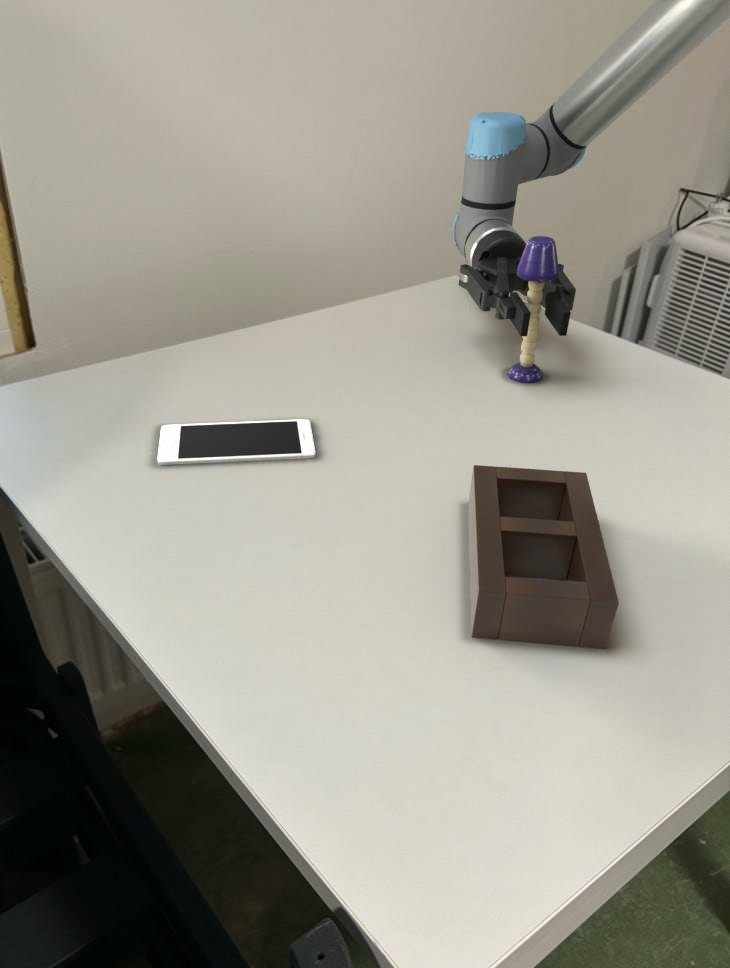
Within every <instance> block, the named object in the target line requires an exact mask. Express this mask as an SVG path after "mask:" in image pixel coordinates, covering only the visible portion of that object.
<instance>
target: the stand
mask: <svg viewBox="0 0 730 968" xmlns="http://www.w3.org/2000/svg"><path fill="white" fill-rule="evenodd" d="M467 521H468V522H467V524H468V525H467V526H468V556H469V557H468V558H469V559H468V561H469V592H470V593H469V597H470V600H469V601H470V629H471V630H470V631H471V638H474V639H482V640H483V639H484V640H494V641H495V640H497V641H505V642H507V641H508V642H518V643H529V644H539V645H550V646H562V647H572V648H573V647H574V648H585V649H594V650H595V649H596V650H606V649H607V646H608V642H609V639H610V635H611V632H612V629H613V625H614V621H615V618H616V614H617V611H618V607H619V604H620V603H619V598H618V593H617V590H616V585H615V581H614V578H613V573H612V570H611V566H610V561H609V558H608V554H607V550H606V546H605V542H604V538H603V535H602V530H601V526H600V522H599V517H598V514H597V510H596V507H595V502H594V498H593V494H592V490H591V486H590V481H589V477H588V474H587V472H580V471H568V470H567V471H565V470H564V471H563V470H552V469H539V468H538V469H536V468H525V467H524V468H523V467H511V466H494V465H481V464H480V465H479V464H478V465H477V464H474V465H473V466H472V473H471V481H470V489H469V497H468V505H467Z"/></svg>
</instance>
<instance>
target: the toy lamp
mask: <svg viewBox="0 0 730 968" xmlns="http://www.w3.org/2000/svg"><path fill="white" fill-rule="evenodd" d="M556 244H557V243H556V241H555V239H554V238H552V237H550V236H545V235H535V236H531V237H529V239H528V240H527V241H526V246H525V249H524V251H523V254H522V257H521V260H520V262H519V265H518V268H517V275H518V277H520V278H522V279H524V280H527V281H529V283H528V285H529V291H528V293H527V296H526V301H527V302H526V303H525V305H526V306H527V308H528V309H529V311H530V312H531V315H530V322H529V328H528V334H527V336H522V342H521V346H520V349H521V353H520V356H519V362H517V363H515V364H513V365H512V366H511V367H510V368H509V369H508V371H507V373H506V374H507V375H506V376H507V377H508V378H509V379H510V380H511V381H513V382H516V383H520V384H536V383H539V382H541V381H542V379H543V373H542V371H541V369H540V367H539V366H538V365H537V364H535V360H536V359H535V358H536V356H535V352H536V350H537V342H536V341H537V339H538V336H539V332H538V328H539V326H540V316H539V315H540V314H541V311H542V305H541V304H540V302H541V300H542V297H543V293H542V289H543V287H544V283H545V281H551V280H553V279H556V278H557V277H558V274H559V268H558V264H559V261H558V260H559V259H558V252H557V245H556Z"/></svg>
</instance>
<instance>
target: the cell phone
mask: <svg viewBox="0 0 730 968" xmlns="http://www.w3.org/2000/svg"><path fill="white" fill-rule="evenodd" d="M316 453H317V451H316V445H315V441H314V435H313V430H312V424H311V421H310V419H307V418H303V419H302V418H301V419H298V418H297V419H296V418H295V419H276V420H275V419H273V420H272V419H271V420H250V421H249V420H248V421H227V422H223V421H222V422H203V423H201V422H199V423H178V424H175V423H174V424H164V425H162V426H161V427H160V435H159V442H158V452H157V459H156V460H157V464H158V465H160V466H169V465H170V466H171V465H191V464H194V465H195V464H214V463H215V464H217V463H235V462H236V463H237V462H239V463H240V462H256V461H280V460H282V461H283V460H302V459H303V460H304V459H305V460H306V459H314V458H316Z"/></svg>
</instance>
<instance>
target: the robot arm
mask: <svg viewBox="0 0 730 968" xmlns="http://www.w3.org/2000/svg"><path fill="white" fill-rule="evenodd" d="M729 19H730V0H655V1H653V3H651V4H650V6H649V7H648V8H647V9H645V10H644V11H643V13H641V15H640V16H639V17H638V18H636V20H635V21H633V22H632V24H631V25H629V27H628V28H626V30H625V31H623V33H622V34H621V35H620V36H619V37H617V38H616V39H615V40H614V42H612V44H610V46H609V47H608V48H607V49H606V50H605V51H604V52H602V54H601V55H599V57H598V58H597V59H595V61H594V62H593V63H592V64H591V65H590V66H588V68H587V69H586V70H585V71H584V72H583V73H582V74H581V75H580V76H579V77H577V78H576V80H575V81H574V82H573V83H572V84H571V85H570V86H569V87H568V88H567V89H566V90H565V91H563V93H562V94H561V95H560V96H559V97H558V98H557V99H555V101H554V102H553V104H551V105H550V106H549V107H548V108H547V109H546V110H545V111H544V112H543V113H542V114H541V115H540V116H539V117H538V118H537V119H535V121H531V122H527V120H526V119H525V117H524V116H523V115H522V114H519V113H516V112H508V111H485V112H480V113H476V114H475V115H474V116H473V117H472V118H471V120H470V122H469V128H468V134H467V142H466V143H465V147H464V151H465V153H464V154H465V155H464V165H463V167H464V168H463V177H462V178H463V179H462V188H461V189H462V190H461V199H460V204H459V211H458V212H457V213H456V215H455V217H454V220H453V223H452V235H453V240H454V242H455V246H456V247H457V250H458V251H459V253H460V254H461V255H462V256H463V258H464V260H465V261H466V262H467V263H464V264H460V267H459V276H458V286H459V287H461V288H463V289H464V290H466V291H467V293H468V294H469V296H470V297H471V298H472V300H473V301H474V303H475V304H476V305H477V308H479V310H480V311H482V312H490V311H491V309H495V319H496V320H509V321H510V322H511V324H512V325H513V327H514V328H515V330H516V332H517V333H518V335H519V336H520V337H523V336H527V334H528V328H529V322H530V315H531V312H530V311H529V309H528V308H527V306H526V303H525V302H524V300H523V299H522V298H521V296H520V295H519V293H520V294H521V295H522V296H523V297H527V293H528V291H529V285H528V283H529V281H527V280H524V279H522V278H520V277H518V275H517V268H518V265H519V262H520V260H521V257H522V254H523V251H524V249H525V246H526V244H527V242H526V241H525V240H524V239H523V237H521V235H520V233H518V231H517V230H516V229H515V228H514V226H513V221H514V215H515V208H516V203H517V195H518V189H519V185H523V184H526V183H529V182H532V181H535V180H540V179H544V178H549V177H554V176H559V175H562V174H563V173H565V172H567V171H568V170H571V169H573V168H575V167H576V166H577V165H578V164H579V163H580V162H581V161H582V159H583V158H584V155H585V153H586V150H587V148H588V146H589V145H590V144H592V142H594V140H596V139H597V138H598V137H599V136H601V134H602V133H603V132H604V131H606V129H608V128H609V127H610V126H611V125H612V124H613V123H614V122H616V121H617V120H618V119H619V118H620V117H621V116H622V115H623V114H624V113H625V112H627V111H628V110H630V108H631V107H632V106H633V105H634V104H636V103H637V102H638V101H639V100H640V99H642V97H644V96H645V95H646V94H647V93H648V92H649V91H650V90H651V89H652V88H654V87H655V86H656V85H657V84H658V83H659V82H660V81H661V80H662V79H663V78H664V77H666V76H667V75H668V74H669V73H670V72H671V71H672V70H674V68H675V67H677V66H678V65H679V64H681V62H682V61H684V59H685V58H687V57H688V56H689V55H690V54H691V53H692V52H694V51H695V49H697V48H698V47H699V46H700V45H701V44H702V43H704V41H706V40H707V39H708V38H709V37H710V36H711V35H713V33H714V32H715V31H717V30H718V29H719V28H720V27H721V26H722V25H724V24H725V23H726V22H727V21H728V20H729ZM558 268H559V274H558V277H557V278H556V279H553V280H551V281H545V283H544V287H543V289H542V293H543V297H542V300H541V302H540V304H541V307H543V308H544V315H543V316H545V318H546V319H547V321H548V322H549V323H550V325H551V326H552V327H553V329H554V330H555V331H556V333H557V334H558V336H559V337H567V335H568V330H569V324H570V319H571V315H572V314H571V313H572V312H571V311H573V308H574V303H575V299H576V293H577V292H576V291H577V289H576V287H575V286H574V284H573V283H572V282H571V280H570V279H569V277H568V275H567V274H566V273H565V272H564V268H565V265H564V264H562V263H558ZM518 292H519V293H518Z"/></svg>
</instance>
